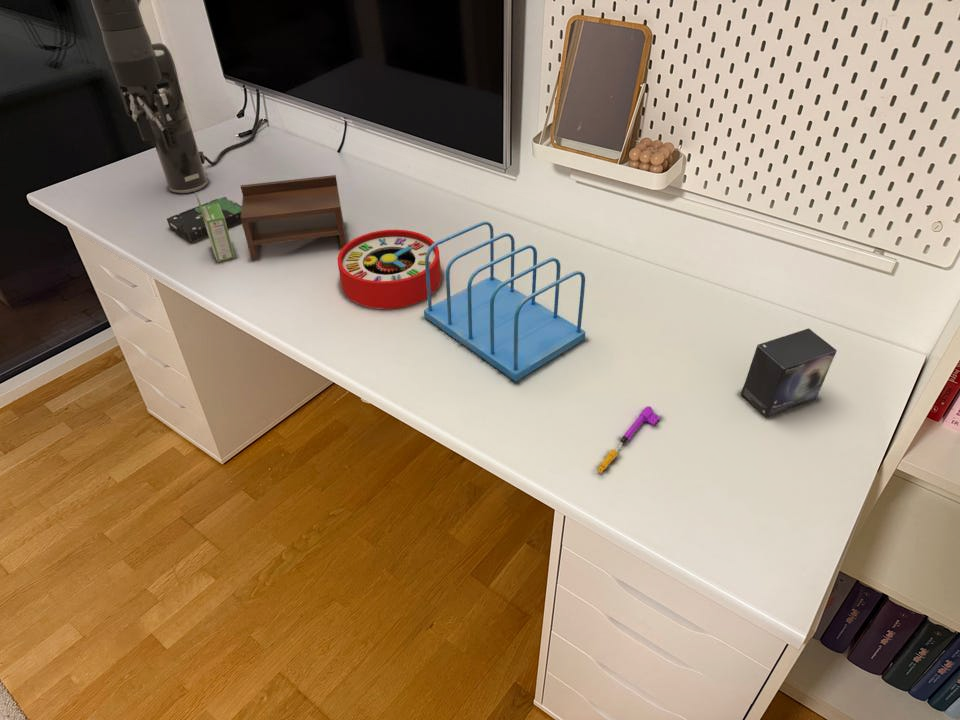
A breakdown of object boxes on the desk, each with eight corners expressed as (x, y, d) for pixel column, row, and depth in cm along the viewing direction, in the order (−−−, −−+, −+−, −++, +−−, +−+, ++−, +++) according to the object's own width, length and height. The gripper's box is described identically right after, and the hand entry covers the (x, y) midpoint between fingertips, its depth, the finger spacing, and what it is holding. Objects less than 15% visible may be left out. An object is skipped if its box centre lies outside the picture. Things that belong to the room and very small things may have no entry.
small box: (766, 420, 108) (784, 369, 101) (738, 394, 112) (754, 343, 105) (818, 400, 111) (839, 350, 104) (789, 376, 115) (808, 326, 109)
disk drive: (192, 245, 152) (250, 219, 160) (188, 233, 150) (247, 208, 158) (169, 229, 158) (226, 205, 166) (165, 218, 156) (223, 194, 164)
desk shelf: (253, 234, 155) (240, 185, 147) (343, 224, 158) (335, 174, 150) (251, 260, 146) (238, 209, 139) (346, 248, 149) (338, 197, 142)
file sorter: (585, 340, 124) (593, 267, 114) (515, 384, 115) (517, 309, 105) (492, 282, 138) (491, 213, 128) (423, 318, 130) (417, 246, 120)
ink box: (236, 258, 147) (220, 200, 138) (217, 263, 146) (199, 205, 137) (230, 243, 152) (214, 187, 143) (211, 247, 151) (194, 191, 142)
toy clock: (316, 257, 136) (392, 219, 147) (321, 282, 139) (395, 243, 151) (383, 296, 125) (460, 252, 136) (386, 321, 129) (461, 277, 140)
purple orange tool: (645, 407, 110) (594, 471, 100) (648, 403, 109) (597, 466, 99) (660, 417, 109) (610, 482, 99) (662, 413, 108) (612, 477, 99)
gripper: (172, 54, 121) (199, 145, 131) (130, 44, 128) (158, 131, 138) (132, 64, 116) (163, 158, 126) (91, 53, 124) (123, 142, 134)
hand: (160, 144), depth 132 cm, fingers open, 8 cm apart
